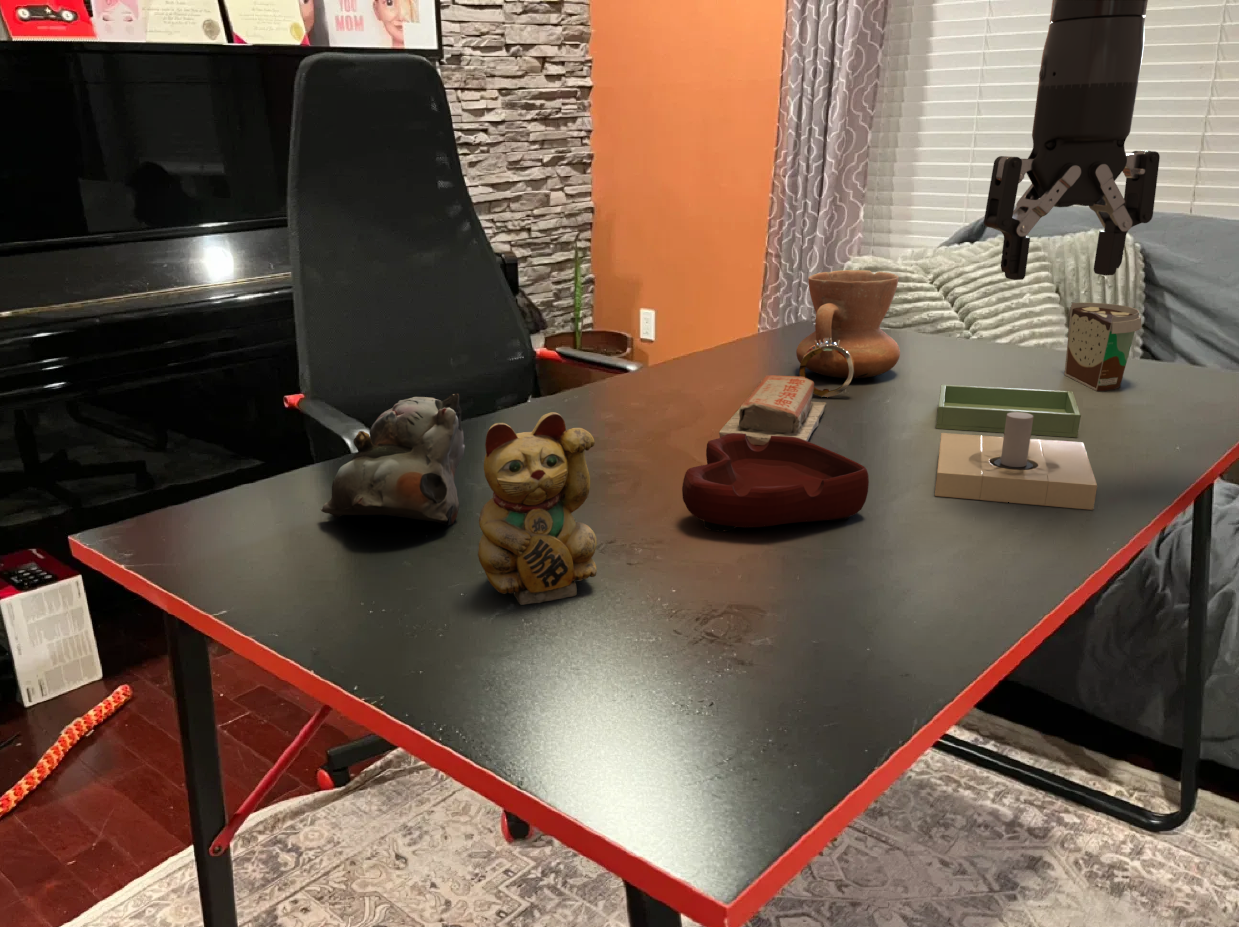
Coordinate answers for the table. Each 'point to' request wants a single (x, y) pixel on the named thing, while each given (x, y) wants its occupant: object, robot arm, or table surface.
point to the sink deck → (1015, 472)
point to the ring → (828, 346)
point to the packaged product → (777, 410)
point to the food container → (1099, 343)
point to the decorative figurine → (536, 511)
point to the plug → (1016, 442)
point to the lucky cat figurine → (404, 464)
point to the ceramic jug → (851, 322)
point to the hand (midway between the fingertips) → (1059, 276)
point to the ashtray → (772, 484)
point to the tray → (1007, 409)
